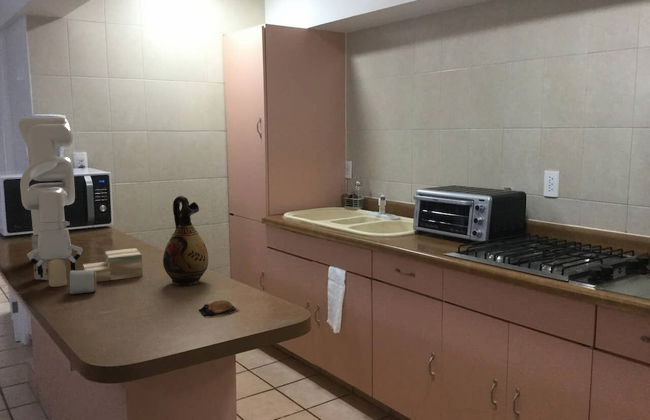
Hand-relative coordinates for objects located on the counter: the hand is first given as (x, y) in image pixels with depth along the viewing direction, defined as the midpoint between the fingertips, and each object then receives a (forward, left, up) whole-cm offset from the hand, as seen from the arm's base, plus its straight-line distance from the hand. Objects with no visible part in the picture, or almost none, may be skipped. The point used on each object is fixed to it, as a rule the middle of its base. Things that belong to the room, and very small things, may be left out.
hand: (57, 274), depth 197 cm
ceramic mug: (+13, +7, -4) cm, 15 cm away
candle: (0, 0, -4) cm, 4 cm away
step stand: (-4, +18, -3) cm, 19 cm away
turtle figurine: (+55, +41, -4) cm, 68 cm away
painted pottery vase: (+18, +40, -4) cm, 44 cm away
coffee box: (-14, -2, -4) cm, 14 cm away
